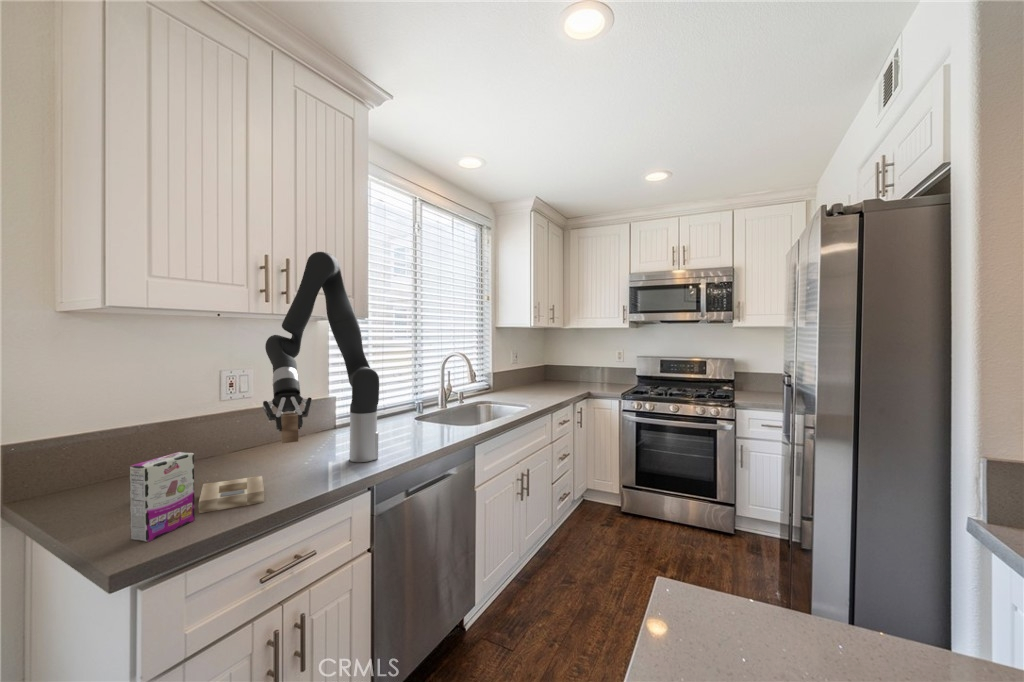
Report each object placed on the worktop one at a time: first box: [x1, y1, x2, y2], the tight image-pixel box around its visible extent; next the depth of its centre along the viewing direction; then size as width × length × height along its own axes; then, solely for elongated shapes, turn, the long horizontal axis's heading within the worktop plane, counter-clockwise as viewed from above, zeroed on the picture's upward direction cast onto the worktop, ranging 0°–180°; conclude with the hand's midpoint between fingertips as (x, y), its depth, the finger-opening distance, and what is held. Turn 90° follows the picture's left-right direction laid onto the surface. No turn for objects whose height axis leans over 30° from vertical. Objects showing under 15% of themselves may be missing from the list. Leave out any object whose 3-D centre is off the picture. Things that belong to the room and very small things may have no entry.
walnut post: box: [280, 412, 299, 444], centre depth 128 cm, size 4×4×8 cm
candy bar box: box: [129, 451, 196, 543], centre depth 96 cm, size 11×5×16 cm, turn 168°
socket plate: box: [198, 475, 265, 514], centre depth 115 cm, size 14×14×3 cm
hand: (290, 428), depth 127 cm, fingers closed on walnut post, 4 cm apart
